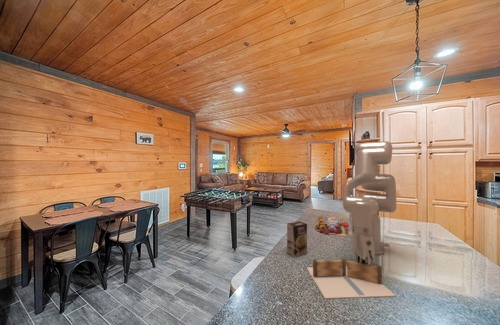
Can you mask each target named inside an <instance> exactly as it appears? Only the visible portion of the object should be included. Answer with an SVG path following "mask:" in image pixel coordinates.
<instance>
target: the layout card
mask: <svg viewBox="0 0 500 325" xmlns="http://www.w3.org/2000/svg"><path fill="white" fill-rule="evenodd" d="M306 270H307V272H308V273H309V275H310V277H311V278H312V280H313V282H314V283H315V286H316V287H317V288H318V290H319V292H320V293H321V295H322V296H323V299H324V300H333V299H334V300H335V299H337V300H338V299H340V300H341V299H365V298H367V299H368V298H370V299H371V298H394V297H397V296H396V294H395V293H394V292H392V291H391V290H390V289H389V288H388V287H386V286H385V285H384V284H383V283H382V284H378V283H376V282H372V281H367V280H363V279H358V278H354V277H349V276H347V265H346V276H343V275H342V276H317V277H314V276H313V266H312V267H310V266H308V267H306Z"/></svg>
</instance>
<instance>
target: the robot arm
mask: <svg viewBox="0 0 500 325" xmlns="http://www.w3.org/2000/svg"><path fill="white" fill-rule="evenodd" d="M354 153H355V157H356V160H355V161H356V162H355V171H354V172H355V174H354V177H353V178H351V179H350V180H349V181H348V182H347V184H346V185H345V187H344V189H343V197H342V207H343V208H342V209H344V210H345V212H348V213H350V218H351V219H350V220H351V222H350V223H351V225H350V226H351V227H350V228H351V229H350V230H351V231H352V234H351V235H350V237H351V238H350V240H351V241H350V247H351V250H352V252H353V253H354V255H355V259H356V262H357V263H363V264H368V265H372V260H373V261H375V259H376V255H383V254H385V249H384V248H389V247H390V243H388V242H385V243H384V241H381V240H382V239H381V218H380V217H379V215H378V214H377V213H378V212H382V213H395V212H396V210H397V185H396V184H397V183H396V179H395V176H394V175H392V174H388V173H379V165H389V164H390V163H391V161H392V156H393V145H392V143H391V142H390V141H387V140H385V141H372V142H371V141H369V142H361V143H357V144H355V146H354ZM359 186H361V188H362V189H363V190H364V191H365V190H366V191H371V192H362V193H360V194H359V195H358V196H353V195H352V196H351V194H352V191H353V190H354V189H355V188H357V187H359ZM373 191H374V192H383V193H374V192H373Z"/></svg>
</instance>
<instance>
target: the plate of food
mask: <svg viewBox="0 0 500 325" xmlns="http://www.w3.org/2000/svg"><path fill="white" fill-rule="evenodd" d="M316 221H317V223H316V225H315V226H314V229H315V230H316V231H317V232H319V233H323V234H325V235H330V234H335V235H334V236H337V235H340V236H339V237H350V236H351V235H352V234H348V233H351V231H350V230H351V229H350V228H351V227H350V225H349V223H348V222H346V221H344V222H343V221H339V220H338V219H337V218H336V217H335V216H332V217H327V216H325V217H324V216H323V215H318V217H317V219H316ZM334 228H335V229H334ZM349 229H350V230H349ZM343 231H344V232H343ZM349 235H350V236H349Z"/></svg>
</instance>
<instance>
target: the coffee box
mask: <svg viewBox="0 0 500 325" xmlns="http://www.w3.org/2000/svg"><path fill="white" fill-rule="evenodd" d="M286 225H287V226H286V228H287V229H286V230H287V231H286V232H287V233H286V243H287V244H286V248H287V249H286V253H288V254H289V255H290V256H292V257H293V258H296V257H300V256H304V255H307V254H308V223H305V222H302V221H294V222H289V223H286Z"/></svg>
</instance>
